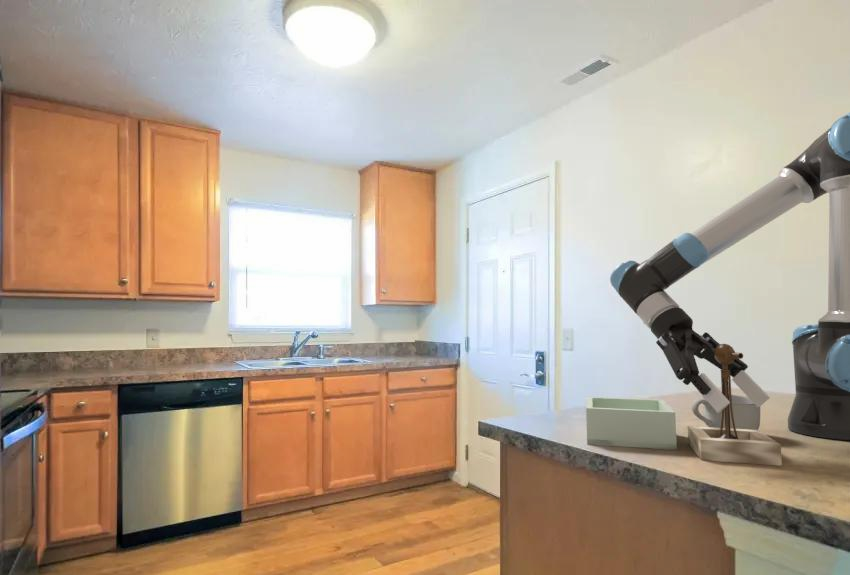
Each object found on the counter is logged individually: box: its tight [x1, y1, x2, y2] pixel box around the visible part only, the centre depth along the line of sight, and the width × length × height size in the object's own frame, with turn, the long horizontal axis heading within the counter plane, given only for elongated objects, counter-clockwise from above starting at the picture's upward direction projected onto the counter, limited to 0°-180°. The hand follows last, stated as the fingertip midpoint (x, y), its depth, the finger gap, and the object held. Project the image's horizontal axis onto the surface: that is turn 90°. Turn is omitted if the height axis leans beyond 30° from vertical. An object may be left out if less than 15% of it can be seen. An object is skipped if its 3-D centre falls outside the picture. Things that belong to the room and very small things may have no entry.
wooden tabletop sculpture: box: [714, 343, 744, 439], centre depth 92 cm, size 6×5×20 cm
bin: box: [585, 396, 678, 451], centre depth 104 cm, size 16×16×7 cm
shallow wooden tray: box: [687, 425, 783, 467], centre depth 91 cm, size 12×12×4 cm
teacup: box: [691, 393, 761, 430], centre depth 108 cm, size 14×11×8 cm
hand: (744, 405), depth 89 cm, fingers open, 11 cm apart
